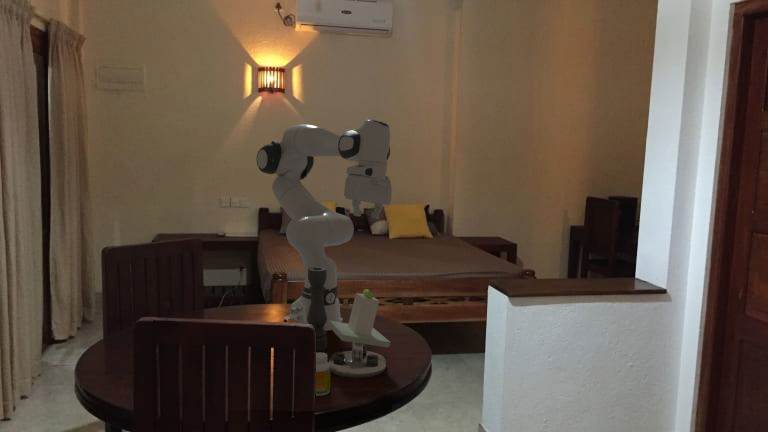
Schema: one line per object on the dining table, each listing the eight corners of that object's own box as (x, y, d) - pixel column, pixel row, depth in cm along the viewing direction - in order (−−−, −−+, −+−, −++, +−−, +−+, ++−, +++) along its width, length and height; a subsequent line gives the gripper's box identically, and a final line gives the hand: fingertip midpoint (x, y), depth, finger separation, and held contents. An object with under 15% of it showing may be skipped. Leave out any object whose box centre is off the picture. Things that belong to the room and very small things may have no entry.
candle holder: (312, 352, 170) (312, 271, 168) (303, 346, 176) (303, 268, 173) (330, 349, 174) (331, 269, 171) (321, 343, 179) (322, 266, 176)
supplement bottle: (329, 396, 140) (330, 358, 139) (308, 396, 140) (308, 358, 139) (330, 387, 146) (330, 351, 145) (309, 387, 145) (309, 351, 144)
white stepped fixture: (371, 332, 168) (382, 289, 168) (389, 347, 155) (400, 300, 155) (327, 325, 163) (338, 281, 162) (342, 340, 150) (354, 292, 149)
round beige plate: (373, 354, 170) (374, 327, 169) (394, 373, 155) (394, 344, 154) (322, 360, 164) (322, 332, 163) (338, 381, 149) (338, 350, 149)
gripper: (382, 176, 183) (377, 218, 183) (343, 167, 166) (337, 213, 166) (398, 177, 180) (393, 220, 179) (360, 168, 163) (354, 215, 163)
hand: (366, 217), depth 173 cm, fingers open, 8 cm apart
